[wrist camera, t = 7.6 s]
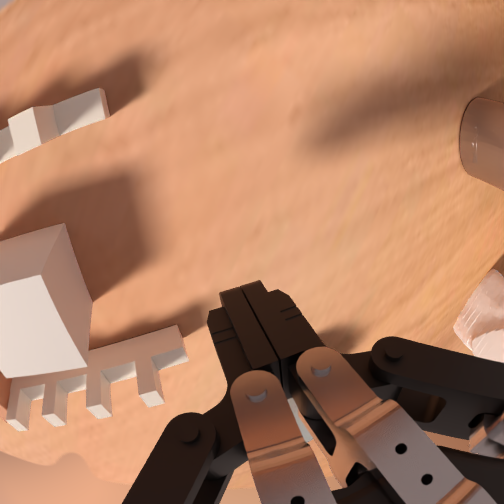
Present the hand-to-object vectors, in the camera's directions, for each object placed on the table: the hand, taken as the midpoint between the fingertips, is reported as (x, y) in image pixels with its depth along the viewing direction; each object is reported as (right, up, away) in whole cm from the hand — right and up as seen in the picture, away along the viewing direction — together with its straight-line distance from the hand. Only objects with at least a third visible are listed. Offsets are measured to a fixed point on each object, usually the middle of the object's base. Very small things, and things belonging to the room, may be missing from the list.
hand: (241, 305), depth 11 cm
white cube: (-13, +1, +5) cm, 15 cm away
